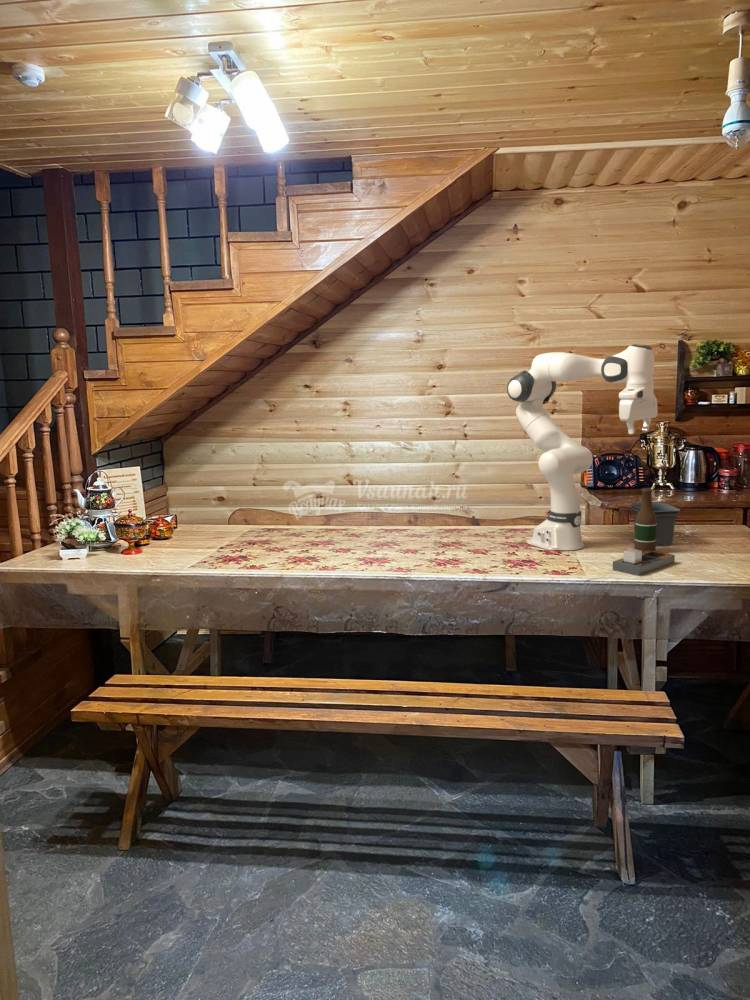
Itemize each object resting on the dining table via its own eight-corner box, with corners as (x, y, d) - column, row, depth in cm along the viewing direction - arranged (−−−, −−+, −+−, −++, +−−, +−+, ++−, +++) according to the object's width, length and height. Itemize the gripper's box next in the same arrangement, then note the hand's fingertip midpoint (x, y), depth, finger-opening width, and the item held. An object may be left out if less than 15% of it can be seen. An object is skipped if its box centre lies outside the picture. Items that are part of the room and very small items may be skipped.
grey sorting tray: (612, 571, 251) (612, 561, 250) (648, 559, 264) (648, 549, 264) (638, 577, 243) (639, 566, 243) (674, 564, 256) (674, 554, 256)
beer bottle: (648, 555, 270) (650, 491, 265) (629, 551, 276) (631, 488, 272) (660, 551, 274) (662, 488, 270) (642, 547, 280) (644, 486, 276)
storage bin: (625, 536, 300) (626, 501, 298) (662, 534, 301) (663, 500, 298) (647, 548, 279) (648, 512, 277) (687, 546, 280) (688, 510, 277)
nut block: (623, 570, 250) (623, 550, 249) (630, 568, 252) (630, 548, 251) (634, 573, 247) (634, 552, 245) (641, 570, 249) (642, 550, 248)
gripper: (645, 390, 261) (644, 429, 263) (616, 393, 247) (615, 434, 250) (663, 390, 256) (661, 430, 258) (633, 393, 242) (632, 435, 245)
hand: (638, 432), depth 254 cm, fingers open, 8 cm apart
